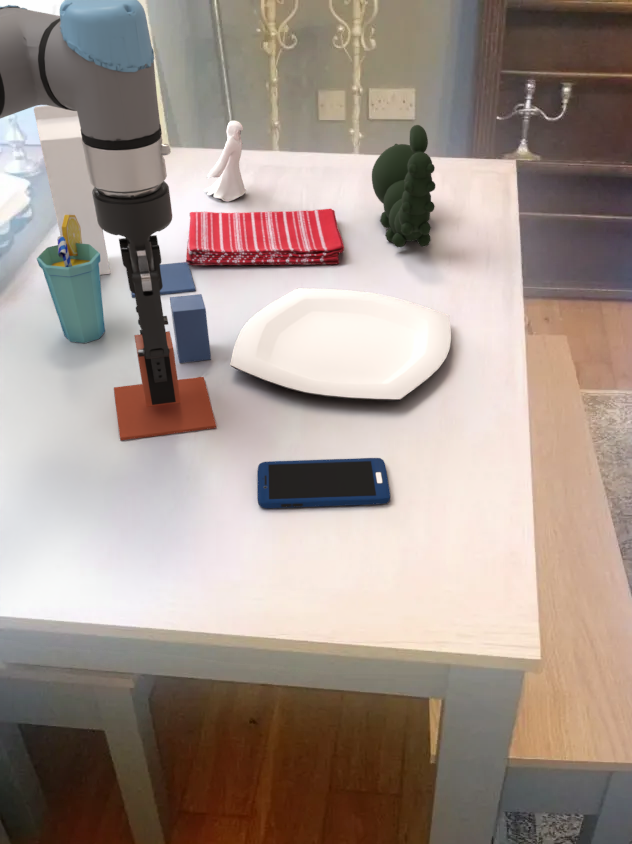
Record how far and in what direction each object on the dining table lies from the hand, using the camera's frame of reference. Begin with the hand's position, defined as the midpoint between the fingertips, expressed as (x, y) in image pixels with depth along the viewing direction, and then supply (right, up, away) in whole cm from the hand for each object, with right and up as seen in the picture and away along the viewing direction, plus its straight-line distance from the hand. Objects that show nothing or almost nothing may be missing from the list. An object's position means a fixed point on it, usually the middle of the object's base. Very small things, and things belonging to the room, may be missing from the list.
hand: (161, 390), depth 105 cm
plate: (+21, +8, +12) cm, 25 cm away
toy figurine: (+31, +34, +39) cm, 60 cm away
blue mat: (-5, +22, +26) cm, 34 cm away
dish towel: (+9, +31, +35) cm, 47 cm away
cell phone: (+19, -12, -9) cm, 24 cm away
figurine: (+1, +45, +49) cm, 66 cm away
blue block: (+2, +7, +11) cm, 13 cm away
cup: (-13, +10, +14) cm, 22 cm away
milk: (-16, +25, +29) cm, 41 cm away
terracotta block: (0, 0, 0) cm, 1 cm away
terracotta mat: (0, -2, +2) cm, 2 cm away
